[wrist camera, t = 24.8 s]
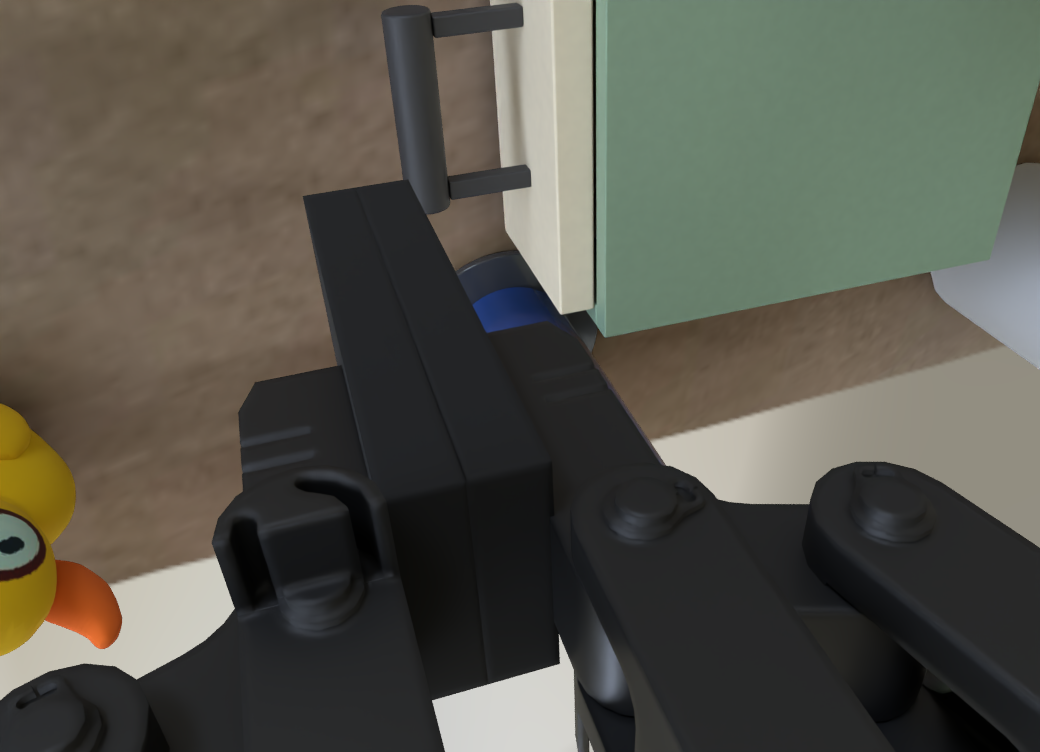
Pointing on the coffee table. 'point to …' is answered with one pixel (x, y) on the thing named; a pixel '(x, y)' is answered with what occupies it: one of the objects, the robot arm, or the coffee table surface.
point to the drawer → (513, 128)
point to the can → (1005, 273)
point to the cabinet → (799, 146)
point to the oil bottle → (532, 308)
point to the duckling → (43, 546)
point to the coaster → (514, 285)
